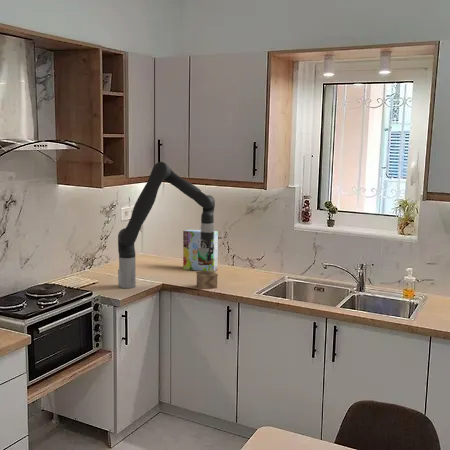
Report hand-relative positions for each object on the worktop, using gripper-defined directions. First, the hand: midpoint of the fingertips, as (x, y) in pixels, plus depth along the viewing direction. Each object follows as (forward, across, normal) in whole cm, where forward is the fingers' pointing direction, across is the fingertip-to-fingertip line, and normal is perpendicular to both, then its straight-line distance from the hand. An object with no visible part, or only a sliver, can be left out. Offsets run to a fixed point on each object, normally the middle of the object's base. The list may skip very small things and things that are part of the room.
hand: (206, 259), depth 324 cm
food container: (+3, +1, 0) cm, 3 cm away
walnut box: (+16, 0, 0) cm, 16 cm away
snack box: (+16, -42, +13) cm, 47 cm away
